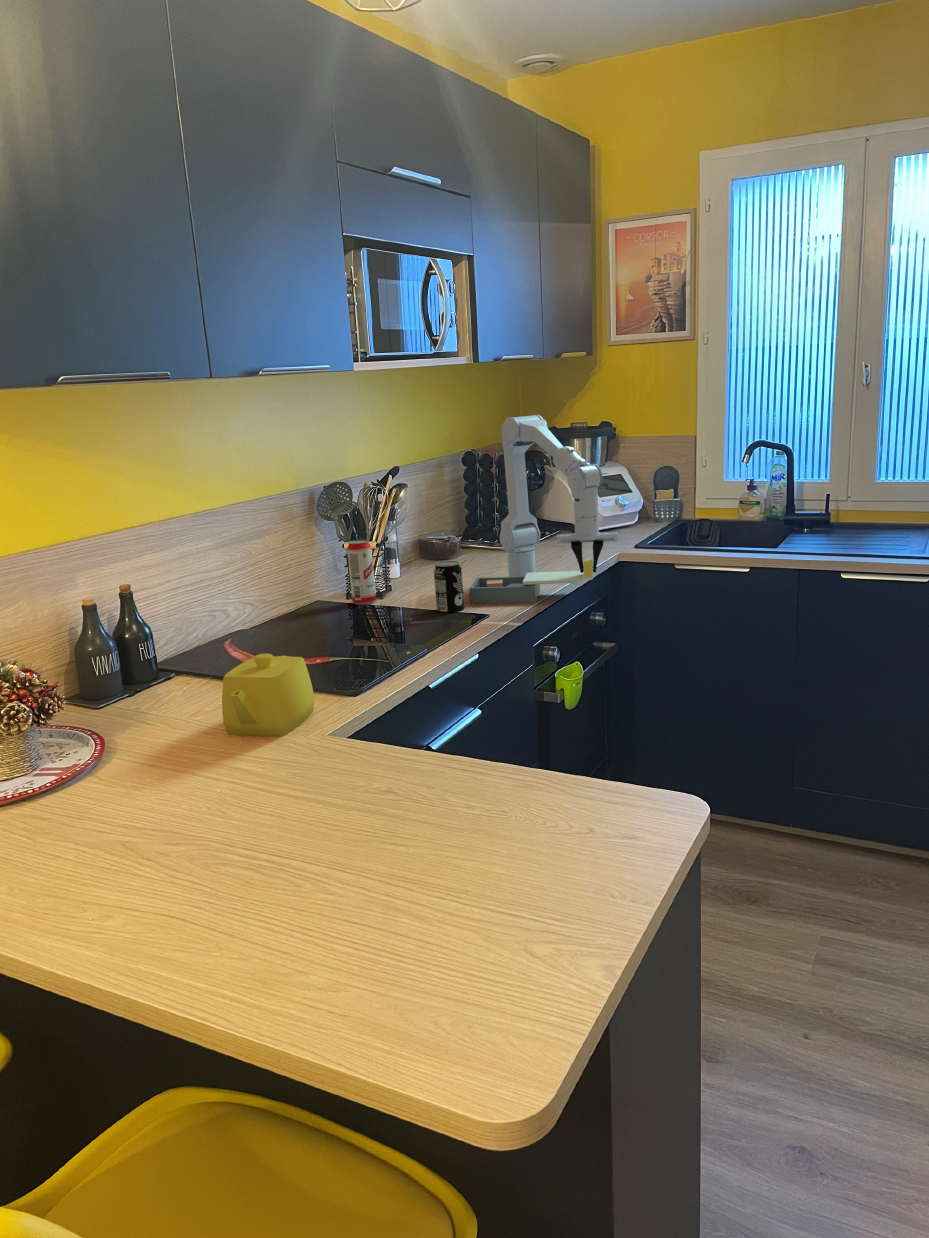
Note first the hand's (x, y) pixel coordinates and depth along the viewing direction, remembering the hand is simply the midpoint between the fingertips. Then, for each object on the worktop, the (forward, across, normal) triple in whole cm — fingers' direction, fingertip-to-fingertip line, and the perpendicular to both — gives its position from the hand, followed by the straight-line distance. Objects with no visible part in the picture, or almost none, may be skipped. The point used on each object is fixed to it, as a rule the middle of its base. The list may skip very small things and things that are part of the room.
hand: (588, 571), depth 220 cm
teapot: (+7, -50, -84) cm, 98 cm away
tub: (+6, -21, 0) cm, 22 cm away
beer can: (+7, -58, +1) cm, 58 cm away
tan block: (+6, -24, +2) cm, 24 cm away
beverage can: (+7, -33, -11) cm, 35 cm away
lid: (+2, -7, 0) cm, 7 cm away
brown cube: (+6, -18, -2) cm, 19 cm away
